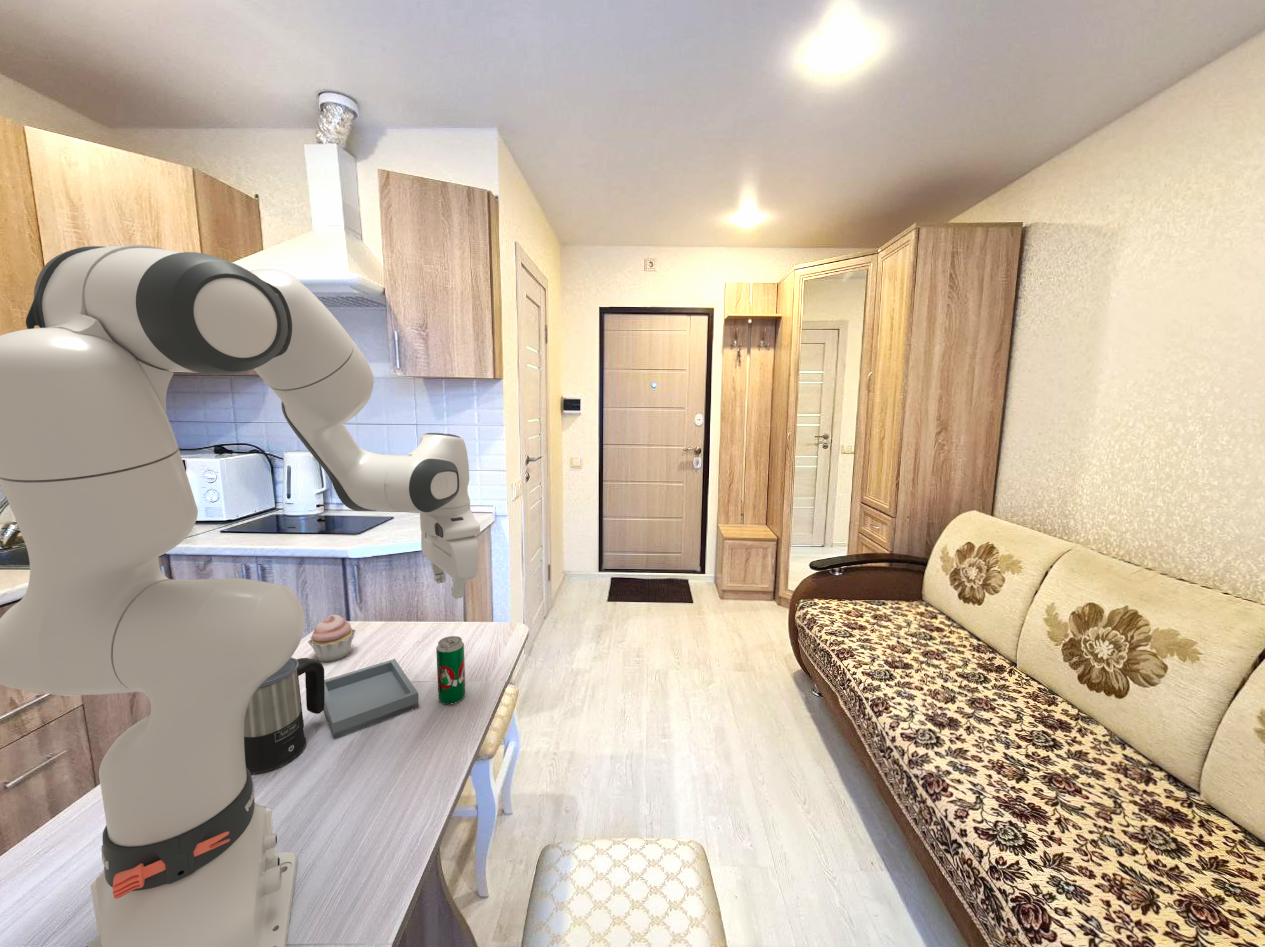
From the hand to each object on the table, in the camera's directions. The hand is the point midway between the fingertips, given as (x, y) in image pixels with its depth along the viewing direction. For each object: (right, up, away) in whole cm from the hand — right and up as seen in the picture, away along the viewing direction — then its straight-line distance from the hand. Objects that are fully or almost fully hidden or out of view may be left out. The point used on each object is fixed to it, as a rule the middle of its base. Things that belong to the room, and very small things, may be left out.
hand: (448, 589), depth 91 cm
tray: (-16, -22, +1) cm, 28 cm away
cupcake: (-33, -20, +18) cm, 43 cm away
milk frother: (-27, -24, -10) cm, 38 cm away
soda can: (0, -23, +3) cm, 23 cm away
